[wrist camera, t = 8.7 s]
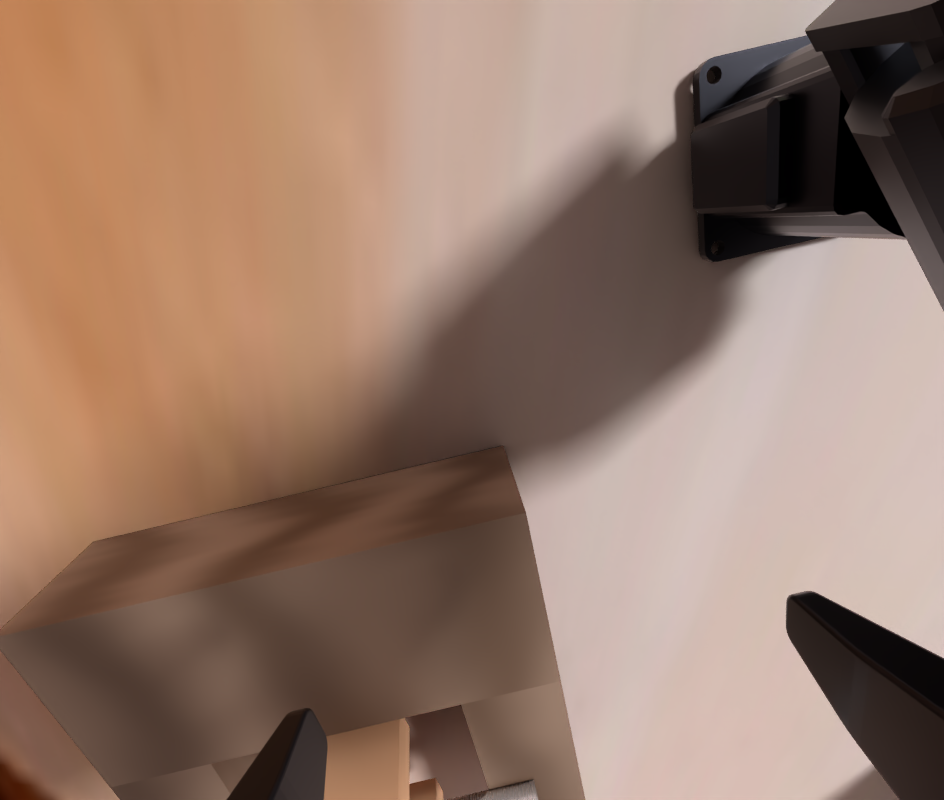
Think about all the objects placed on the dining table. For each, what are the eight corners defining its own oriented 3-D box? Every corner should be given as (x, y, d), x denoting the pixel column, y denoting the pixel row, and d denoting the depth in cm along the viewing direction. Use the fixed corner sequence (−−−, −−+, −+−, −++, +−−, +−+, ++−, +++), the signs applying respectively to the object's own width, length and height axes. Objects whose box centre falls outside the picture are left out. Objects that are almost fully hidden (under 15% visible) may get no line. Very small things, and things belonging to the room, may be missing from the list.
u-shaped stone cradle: (503, 445, 20) (525, 512, 15) (567, 745, 27) (596, 853, 23) (93, 541, 20) (-9, 638, 15) (266, 817, 27) (232, 939, 23)
